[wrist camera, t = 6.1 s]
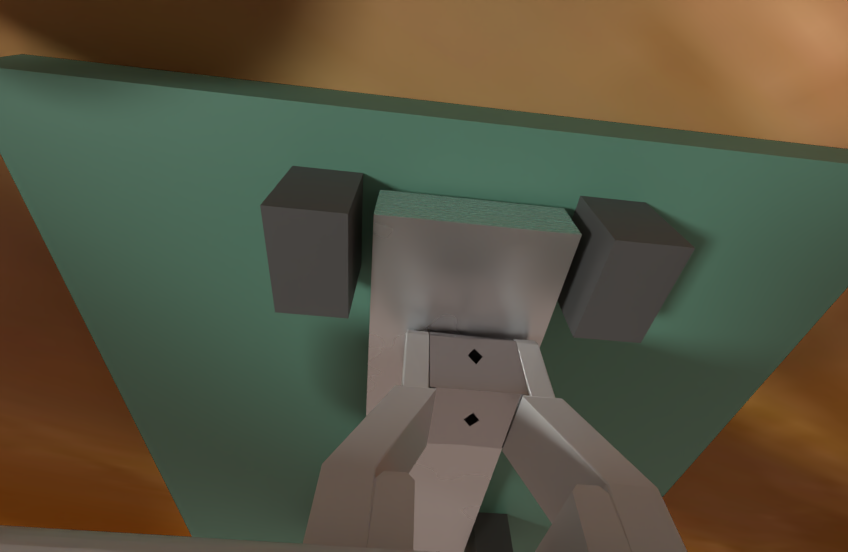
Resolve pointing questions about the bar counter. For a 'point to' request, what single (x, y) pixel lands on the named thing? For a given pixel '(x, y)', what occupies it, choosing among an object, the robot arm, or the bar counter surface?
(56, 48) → the bar counter surface
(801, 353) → the bar counter surface
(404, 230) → the steel strap
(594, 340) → the board
